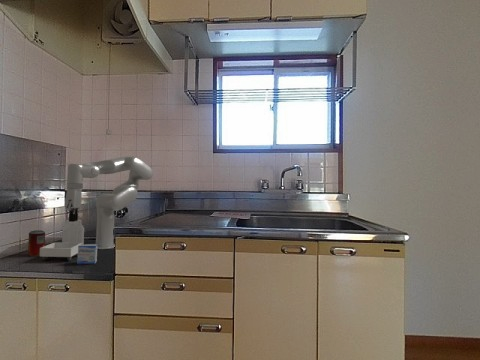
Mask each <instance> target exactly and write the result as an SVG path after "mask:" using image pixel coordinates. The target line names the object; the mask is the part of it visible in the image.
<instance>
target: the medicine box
mask: <svg viewBox="0 0 480 360" xmlns="http://www.w3.org/2000/svg"><path fill="white" fill-rule="evenodd" d="M97 257H98V249H97V244H96V243H91V244H87V243H86V244H80V245H79V246H78V256H77V261H76V262H77V265H91V264H92V265H93V264H96V263H97V261H98V258H97Z"/></svg>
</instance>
